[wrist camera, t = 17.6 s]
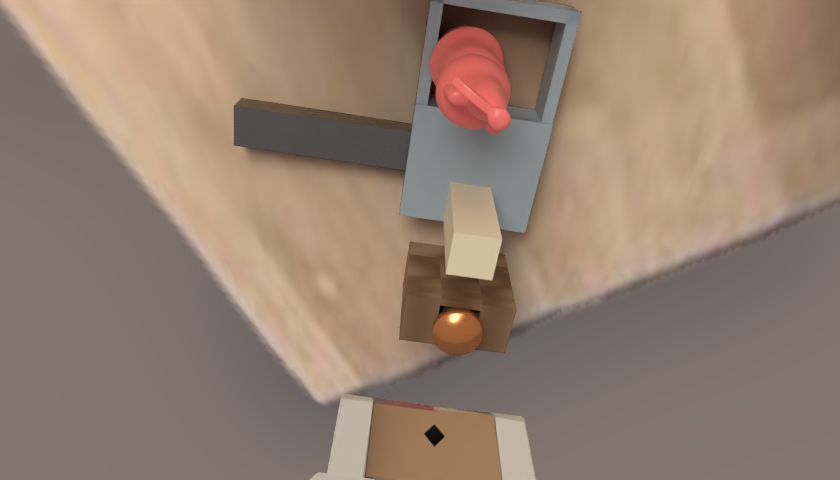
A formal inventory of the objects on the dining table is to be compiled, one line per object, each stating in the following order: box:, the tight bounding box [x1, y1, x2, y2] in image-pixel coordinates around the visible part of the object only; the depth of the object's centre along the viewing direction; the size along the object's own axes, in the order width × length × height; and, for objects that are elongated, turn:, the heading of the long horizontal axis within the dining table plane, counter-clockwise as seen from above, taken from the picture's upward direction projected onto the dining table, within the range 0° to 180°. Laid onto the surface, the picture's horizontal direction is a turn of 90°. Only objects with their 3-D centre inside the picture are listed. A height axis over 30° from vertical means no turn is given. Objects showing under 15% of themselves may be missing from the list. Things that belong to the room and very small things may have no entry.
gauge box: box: [399, 242, 516, 353], centre depth 48 cm, size 8×4×8 cm, turn 81°
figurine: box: [430, 26, 511, 135], centre depth 37 cm, size 5×5×15 cm
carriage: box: [399, 0, 581, 280], centre depth 40 cm, size 10×16×11 cm, turn 171°
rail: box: [234, 98, 412, 171], centre depth 46 cm, size 22×3×2 cm, turn 81°
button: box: [432, 306, 483, 355], centre depth 47 cm, size 4×4×7 cm
